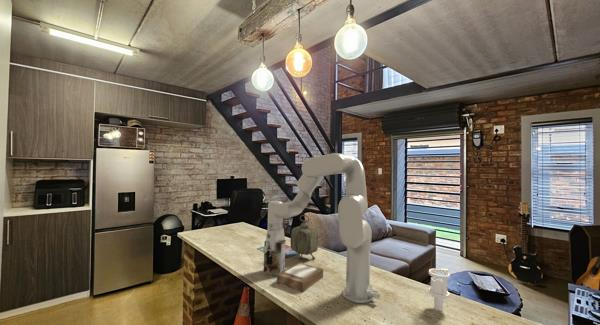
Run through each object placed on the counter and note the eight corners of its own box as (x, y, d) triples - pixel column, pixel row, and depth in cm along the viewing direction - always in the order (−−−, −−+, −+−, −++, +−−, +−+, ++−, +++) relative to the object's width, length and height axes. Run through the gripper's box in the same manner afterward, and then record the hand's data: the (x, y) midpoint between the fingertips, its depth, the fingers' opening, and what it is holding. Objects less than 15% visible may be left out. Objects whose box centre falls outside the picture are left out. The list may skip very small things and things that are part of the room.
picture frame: (323, 277, 124) (323, 267, 124) (302, 292, 109) (302, 281, 109) (298, 270, 131) (299, 261, 131) (276, 283, 116) (277, 273, 116)
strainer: (453, 313, 95) (454, 273, 95) (435, 314, 94) (436, 273, 95) (441, 303, 102) (442, 265, 102) (424, 303, 101) (425, 265, 102)
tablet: (279, 243, 176) (279, 242, 176) (305, 252, 159) (305, 251, 159) (256, 249, 163) (256, 248, 163) (281, 260, 145) (281, 259, 145)
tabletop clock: (318, 259, 147) (318, 215, 147) (308, 264, 140) (309, 218, 140) (298, 253, 156) (299, 212, 156) (288, 257, 149) (289, 214, 149)
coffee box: (263, 274, 126) (263, 241, 126) (268, 269, 132) (269, 237, 132) (280, 276, 123) (281, 243, 123) (285, 271, 129) (285, 239, 129)
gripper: (269, 230, 118) (268, 269, 118) (291, 223, 133) (290, 258, 133) (257, 228, 122) (256, 265, 122) (280, 221, 137) (279, 254, 137)
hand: (274, 261), depth 128 cm, fingers closed on coffee box, 7 cm apart
